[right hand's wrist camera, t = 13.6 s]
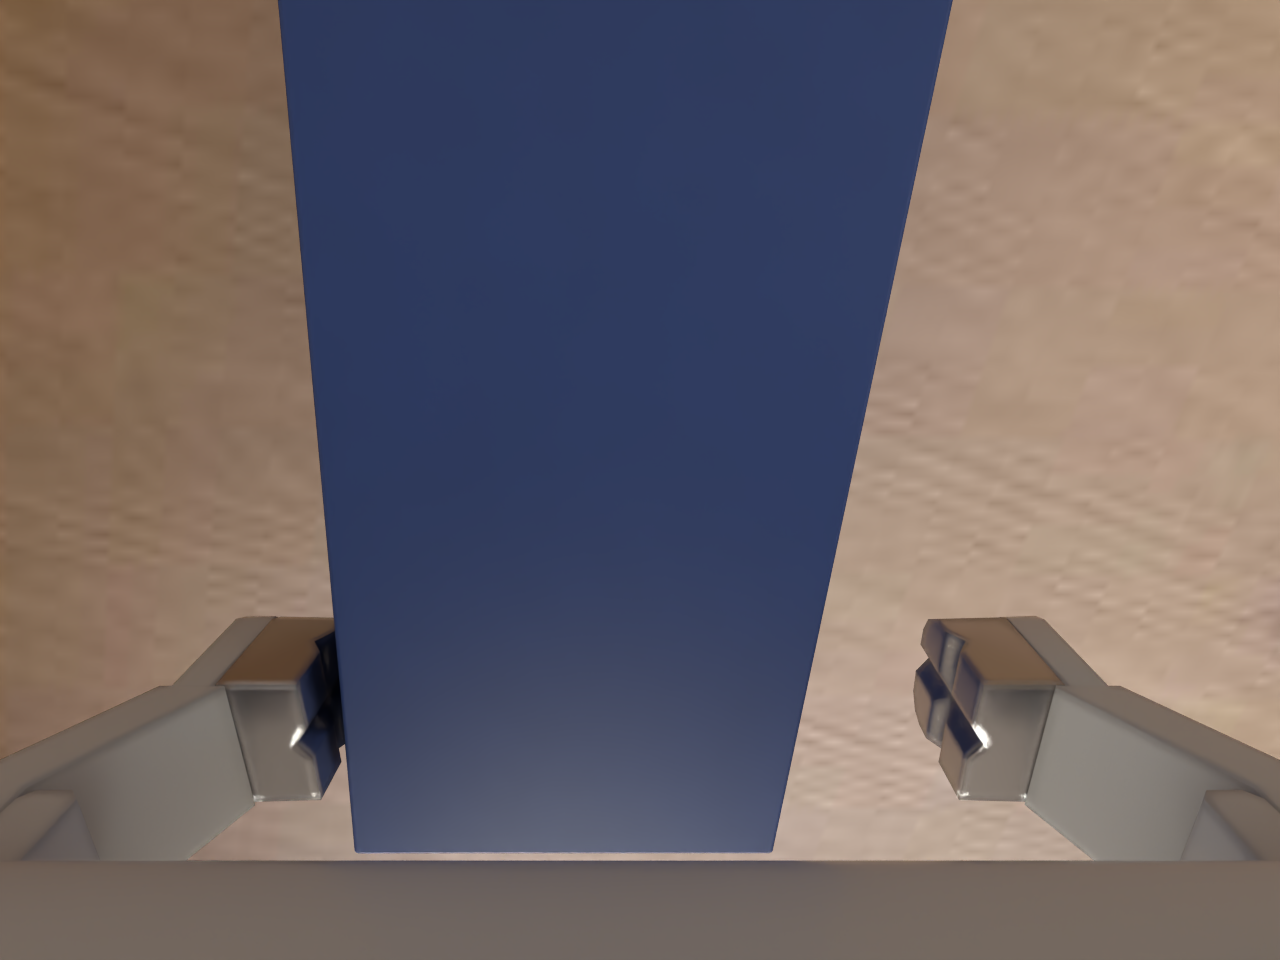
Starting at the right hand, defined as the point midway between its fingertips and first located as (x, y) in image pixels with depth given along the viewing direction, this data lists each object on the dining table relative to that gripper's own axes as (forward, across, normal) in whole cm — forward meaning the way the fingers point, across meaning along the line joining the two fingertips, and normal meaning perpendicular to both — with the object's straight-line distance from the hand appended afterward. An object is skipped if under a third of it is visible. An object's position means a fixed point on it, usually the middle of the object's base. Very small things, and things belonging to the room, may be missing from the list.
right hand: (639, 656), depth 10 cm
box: (+11, +1, -10) cm, 15 cm away
